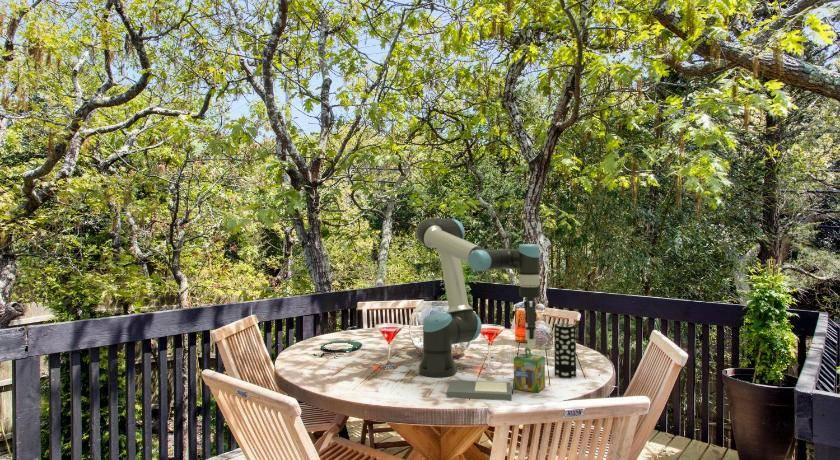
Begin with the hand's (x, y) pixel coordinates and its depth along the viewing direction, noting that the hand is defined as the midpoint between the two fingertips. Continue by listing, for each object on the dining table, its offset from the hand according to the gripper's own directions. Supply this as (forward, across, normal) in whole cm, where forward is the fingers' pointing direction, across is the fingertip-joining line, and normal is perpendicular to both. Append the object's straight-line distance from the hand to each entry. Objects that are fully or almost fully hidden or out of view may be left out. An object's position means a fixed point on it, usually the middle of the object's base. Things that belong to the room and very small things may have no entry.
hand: (530, 344), depth 187 cm
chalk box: (+16, 0, 0) cm, 16 cm away
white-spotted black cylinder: (+16, +19, -15) cm, 29 cm away
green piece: (+16, +48, +90) cm, 103 cm away
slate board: (+16, -8, +18) cm, 26 cm away
